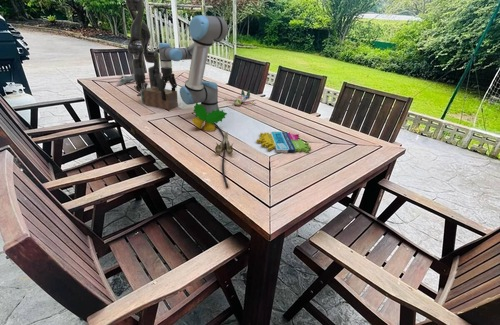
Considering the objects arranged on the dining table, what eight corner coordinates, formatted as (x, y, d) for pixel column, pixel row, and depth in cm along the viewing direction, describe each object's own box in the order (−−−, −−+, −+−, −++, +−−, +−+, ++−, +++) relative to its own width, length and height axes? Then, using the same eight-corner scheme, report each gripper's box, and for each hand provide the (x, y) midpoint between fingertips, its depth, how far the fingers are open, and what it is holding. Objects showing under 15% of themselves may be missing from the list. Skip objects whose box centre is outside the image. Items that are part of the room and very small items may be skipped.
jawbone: (234, 135, 144) (233, 125, 135) (233, 160, 138) (232, 151, 129) (217, 135, 144) (216, 125, 135) (216, 160, 138) (214, 150, 129)
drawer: (136, 101, 200) (134, 89, 195) (145, 98, 208) (143, 86, 203) (163, 107, 192) (162, 94, 188) (171, 103, 201) (170, 91, 196)
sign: (313, 150, 142) (258, 149, 139) (312, 153, 143) (258, 152, 140) (301, 132, 164) (254, 130, 161) (301, 134, 165) (254, 133, 162)
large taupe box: (145, 105, 197) (143, 89, 191) (155, 101, 206) (153, 86, 200) (169, 109, 191) (167, 94, 185) (177, 106, 200) (176, 91, 194)
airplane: (112, 78, 264) (110, 67, 259) (144, 76, 278) (143, 66, 272) (114, 87, 236) (112, 76, 231) (151, 85, 249) (149, 74, 244)
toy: (261, 91, 228) (254, 99, 202) (261, 99, 231) (253, 108, 205) (231, 87, 233) (220, 95, 207) (230, 95, 236) (219, 104, 210)
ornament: (218, 133, 171) (224, 110, 169) (221, 134, 163) (227, 111, 161) (186, 125, 162) (192, 101, 160) (189, 126, 155) (195, 101, 153)
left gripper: (141, 71, 200) (144, 94, 208) (128, 74, 189) (132, 98, 197) (149, 72, 198) (152, 95, 206) (137, 75, 187) (140, 99, 195)
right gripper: (172, 64, 193) (174, 94, 204) (150, 68, 174) (154, 101, 184) (180, 65, 191) (182, 95, 202) (159, 70, 172) (163, 103, 182)
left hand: (142, 96), depth 202 cm, fingers closed
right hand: (169, 98), depth 193 cm, fingers closed on large taupe box, 11 cm apart
